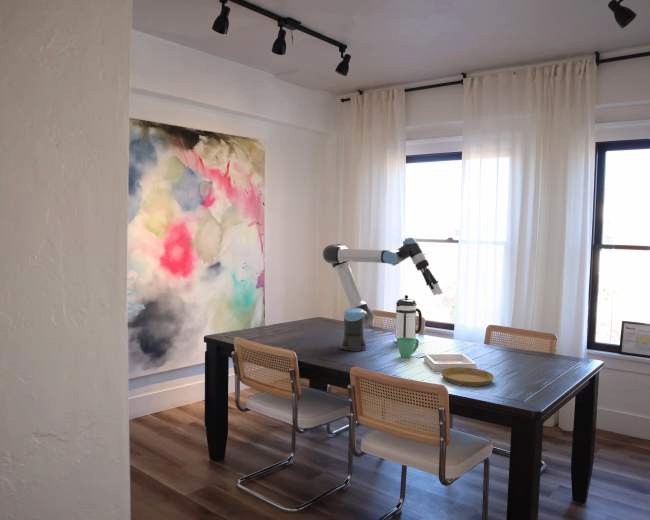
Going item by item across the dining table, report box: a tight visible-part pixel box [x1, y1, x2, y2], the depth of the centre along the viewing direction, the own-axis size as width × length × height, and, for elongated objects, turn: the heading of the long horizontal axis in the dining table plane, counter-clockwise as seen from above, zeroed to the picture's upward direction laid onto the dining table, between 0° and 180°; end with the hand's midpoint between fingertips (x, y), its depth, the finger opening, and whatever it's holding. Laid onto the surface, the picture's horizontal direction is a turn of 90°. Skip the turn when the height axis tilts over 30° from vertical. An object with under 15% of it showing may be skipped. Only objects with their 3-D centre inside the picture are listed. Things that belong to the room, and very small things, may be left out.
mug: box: [396, 338, 419, 359], centre depth 295 cm, size 15×10×10 cm
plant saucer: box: [440, 367, 495, 387], centre depth 249 cm, size 24×24×3 cm
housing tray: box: [423, 353, 477, 372], centre depth 275 cm, size 21×21×4 cm
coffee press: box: [393, 294, 423, 342], centre depth 333 cm, size 17×16×30 cm
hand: (438, 294), depth 301 cm, fingers open, 13 cm apart
